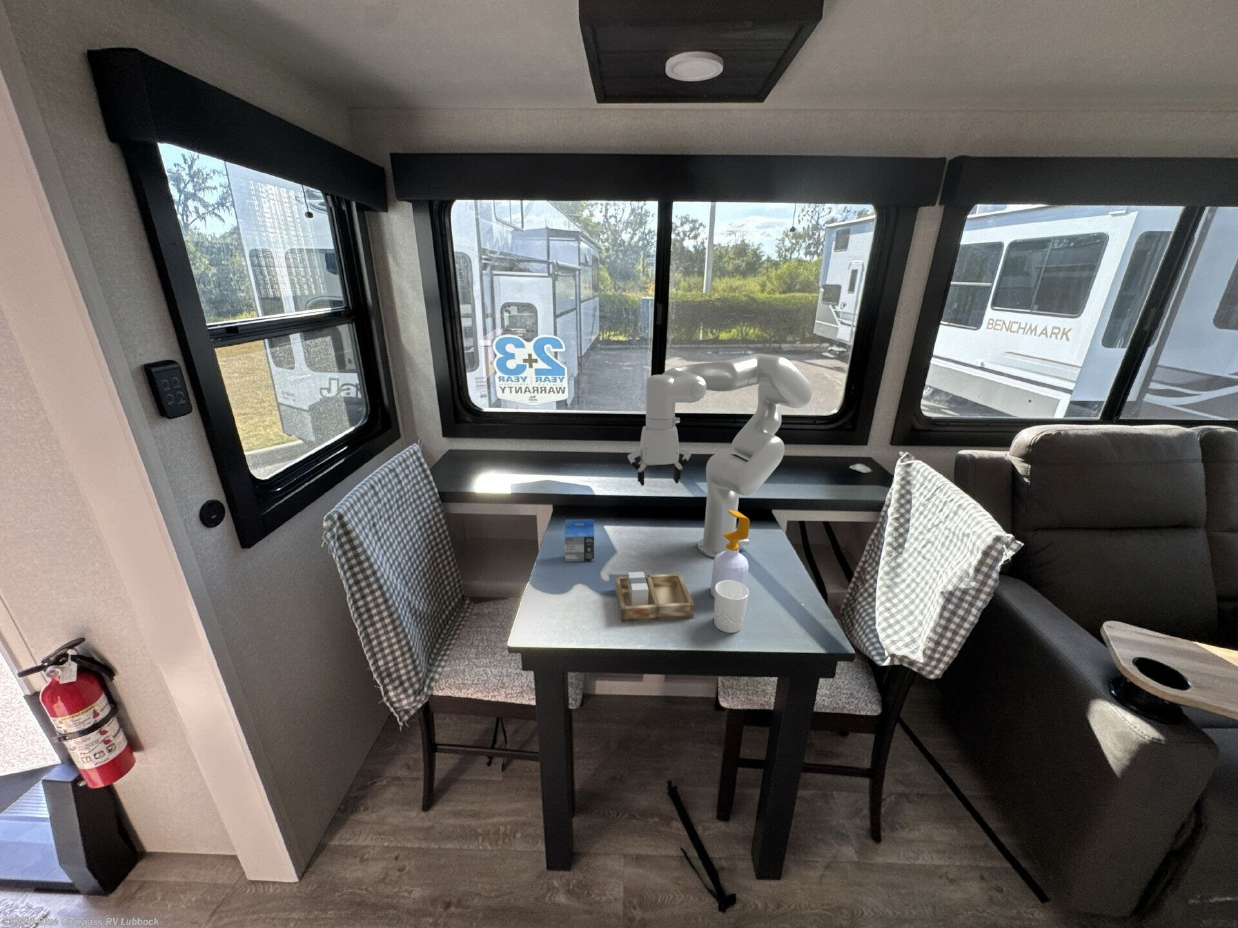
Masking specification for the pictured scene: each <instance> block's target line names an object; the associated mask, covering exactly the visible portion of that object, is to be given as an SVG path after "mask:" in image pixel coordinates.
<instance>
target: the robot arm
mask: <svg viewBox="0 0 1238 928" xmlns="http://www.w3.org/2000/svg"><path fill="white" fill-rule="evenodd" d="M755 385H758V387H757V407H756V411H755V412H754V414H753V415H752V416H751V418H750V419H749V420H748V421H747V423H746V424H745V425H744V426H743V427H742V428H741V430H739V432H737V434H736V436H735V437H734V439H733V440H732V443H731V449H732V451H733V453H734V454H735V455H736V456H735V455H734V454H733V455H732V454H729V453H727V452H717V453H715V454H713V455H712V456H711V457H710V458H709V459H708V460H707V462H706V466H705V467H706V468H705V475H706V484H707V486H706V487H707V490H706V491H707V493H706V506H705V518H704V529H703V538H701V539H699V541H698V543H697V549H698V550H699V551H700V553H702V554H703V555H705V556H707V557H710V558H713V559H714V558H715V557H716V555H717V554H719V553H721V552H723V551H726V545H727V544H728V543H730V541H729V540H728V539H726V538H725V537H724V536H723V534H724V533H728V532H734V531H736V526H737V519H738V518H737V517H734V516H733V515H732V514H730V513H729V512H728V510H733V511H739V510H738V508H739V495H740V496H751V495H753V494H754V493H756V492H757V491H758V490H759V489H760V487H761V486H762V485H763V484H765V482H766V481H767V479H768V478H769V477H770V476H771V475H772V473H773V472H774V471H775V470H776V468H777V467H778V466H779V465H780V463H781V462H782V460H783V457H784V455H785V448H786V447H785V444H784V441H783V440H782V439H781V438H780V437H779V436H777V435H775V434H776V433H777V432H778V430H779V429H780V427H781V424H782V411H781V406H783V407H788V408H791V409H801V408H804V407H805V406H807V405H808V403H809V402H810V401H811V399H812V396H813V388H812V386H811V383H810V381H809V380H808V379H807V378H806V377H805V376H804V375H803V373H802V372H801V371H800V370H799V369H798V368H797V367H796V366H795V365H794V363H792V362H791V361H789V359H787V358H785V357H783V356H778V355H771V354H764V353H753V354H750V355H744V356H739V357H736V358H735V357H734V358H732V359H728V360H721V361H710V362H709V361H708V362H702V363H690V364H686V365H685V364H684V365H681V366H677V367H672V368H671V367H670V368H669V369H667V370H666V371H664V372H663V373H662V374H653V375H651V376H649V377H648V378H647V379H646V386H645V387H646V391H645V392H646V396H645V399H646V400H645V425H643V426H642V429H641V434H640V435H641V436H640V443H639V444H640V445H639V446H640V447H639V448H638V449H637V450H635V451H633V452H631V453H629V454H628V455H627V458H628V461H629V462H630V465H631V466H632V467H633V468H634V469H635V470H637V482H638V483H640V486H642V487H643V486H644V485H645V471H644V470H645V468H647V466H659V465H661V466H662V465H673V464H674V467H673V482H675V484H679V481H680V480H681V478H682V477H681V474H682V473H681V472H682V471H681V470H683V468H684V467H685V466H686V464H688V461H689V459H690V458H691V456H692V453H691V452H690V451H689V450H686V449H684V448H682V447H680V444H679V435H678V429H677V426H676V425H677V424H679V423H680V422H681V419H680V417H676V403H680V404H681V403H684V404H692V403H696V402H699V401H700V400H702V399H703V398H704V396H705V395H706V392H707V391H710V392H713V391H714V392H724V393H725V392H733V391H737V390H740V389H743V388H747V387H751V386H755ZM680 454H681V455H683V457H682V458H681V459H680ZM737 456H738V457H737ZM638 457H639V458H640V461H639V462H637V461H636V460H635V458H638ZM742 458H743V459H742ZM679 459H680V460H679ZM736 544H738V545H739V546H740V545H742V546H749V545H750V540H749V538H746V539H744V540H739V542H737V543H736Z"/></svg>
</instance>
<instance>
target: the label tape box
mask: <svg viewBox="0 0 1238 928" xmlns="http://www.w3.org/2000/svg"><path fill="white" fill-rule="evenodd" d="M594 521H595V520H594V519H564V558H565V559H564V561H565V563H569V562H570V563H572V562H575V563H576V562H594V561H595V526H594V524H595V523H594ZM579 523H580V524H579Z"/></svg>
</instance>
